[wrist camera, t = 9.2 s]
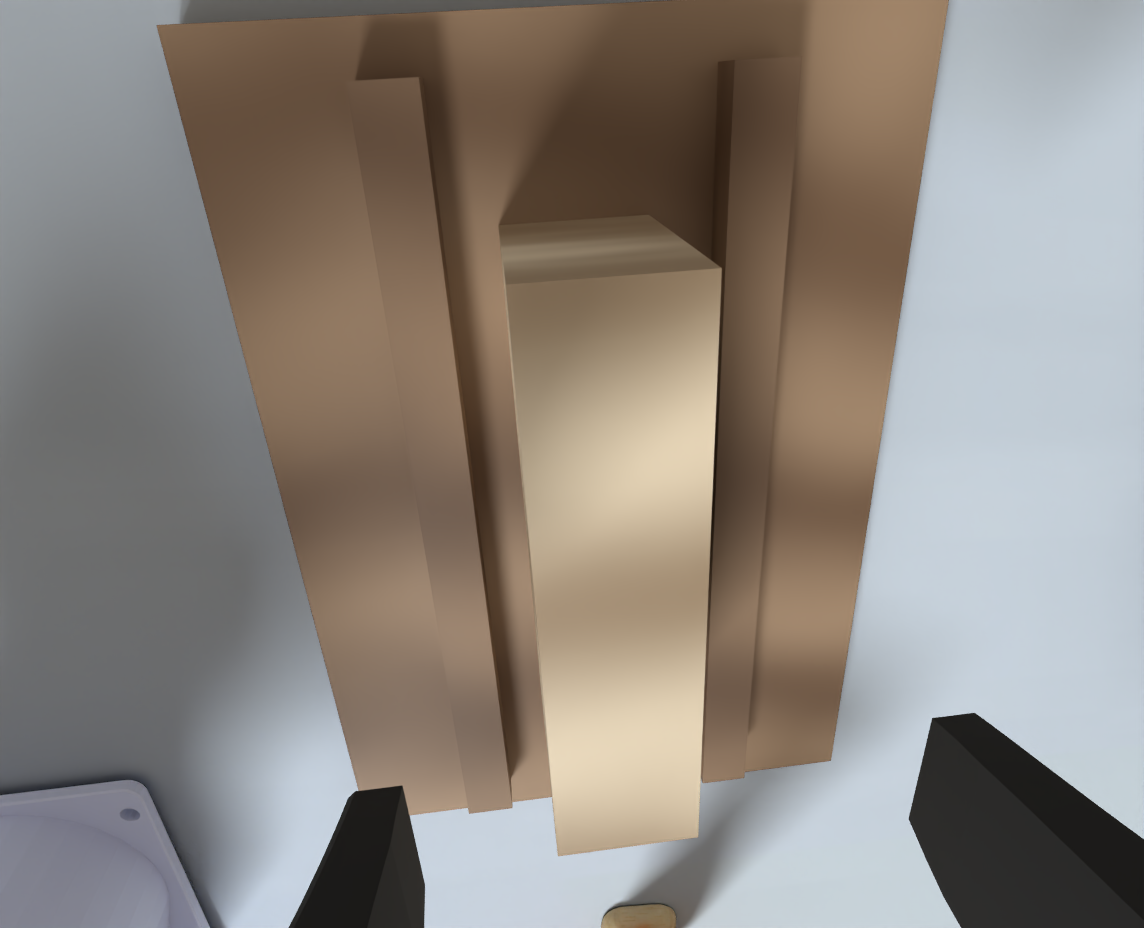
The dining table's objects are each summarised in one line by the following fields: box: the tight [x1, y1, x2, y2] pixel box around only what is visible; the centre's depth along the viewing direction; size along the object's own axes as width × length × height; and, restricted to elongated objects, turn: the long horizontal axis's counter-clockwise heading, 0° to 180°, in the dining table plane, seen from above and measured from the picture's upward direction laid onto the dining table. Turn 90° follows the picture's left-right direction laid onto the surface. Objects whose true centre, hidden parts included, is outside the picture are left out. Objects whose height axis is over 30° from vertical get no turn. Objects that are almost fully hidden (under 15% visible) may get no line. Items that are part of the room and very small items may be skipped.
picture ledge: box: [157, 0, 949, 815], centre depth 17 cm, size 20×14×2 cm
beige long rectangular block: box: [498, 215, 722, 856], centre depth 15 cm, size 12×3×5 cm, turn 3°
